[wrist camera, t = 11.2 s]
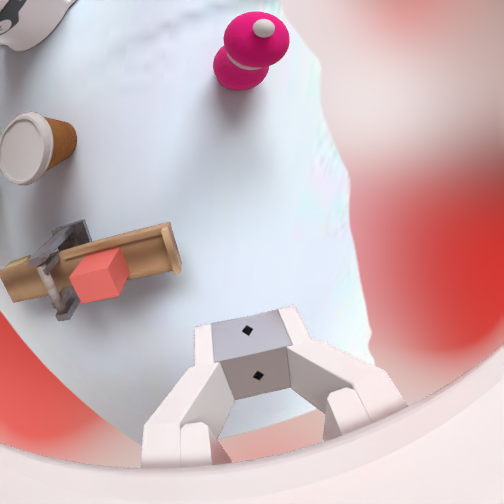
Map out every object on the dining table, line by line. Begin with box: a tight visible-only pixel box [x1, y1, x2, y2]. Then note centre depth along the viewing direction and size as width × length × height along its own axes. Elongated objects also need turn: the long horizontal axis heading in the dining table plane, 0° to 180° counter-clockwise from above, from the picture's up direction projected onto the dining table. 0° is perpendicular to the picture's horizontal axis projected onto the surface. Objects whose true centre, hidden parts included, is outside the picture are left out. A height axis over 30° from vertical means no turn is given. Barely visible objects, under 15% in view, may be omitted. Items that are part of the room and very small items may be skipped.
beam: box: [0, 222, 182, 311], centre depth 34 cm, size 7×34×9 cm, turn 100°
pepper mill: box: [213, 12, 289, 90], centre depth 25 cm, size 7×7×20 cm
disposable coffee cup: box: [0, 112, 77, 185], centre depth 28 cm, size 10×10×12 cm
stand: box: [28, 219, 92, 321], centre depth 36 cm, size 11×7×12 cm, turn 10°
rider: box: [69, 247, 130, 303], centre depth 32 cm, size 4×6×6 cm, turn 100°
